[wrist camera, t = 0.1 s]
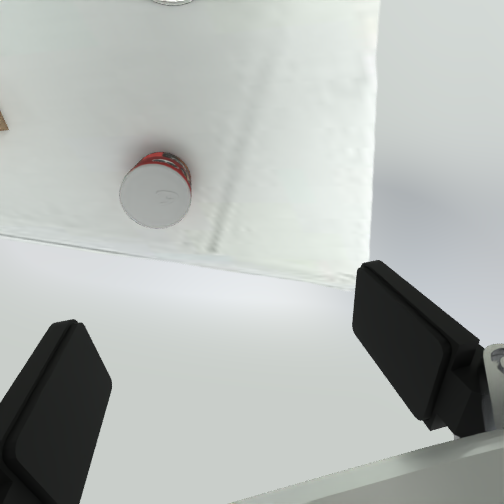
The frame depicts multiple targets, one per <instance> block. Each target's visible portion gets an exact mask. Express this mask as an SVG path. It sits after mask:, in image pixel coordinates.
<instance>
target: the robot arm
mask: <svg viewBox="0 0 504 504" xmlns="http://www.w3.org/2000/svg"><path fill="white" fill-rule="evenodd" d="M153 1H155V2H157V3H161V4H165V5H181V4H186V3H189V2H191V1H192V0H153ZM352 327H353V331H354V333H355V335H356V336H357V338H358V339H359V340H360V342H361V343H362V345H363V346H364V347H365V349H366V350H367V352H368V353H369V354H370V356H371V357H372V358H373V360H374V361H375V363H376V364H377V365H378V367H379V368H380V369H381V371H382V372H383V374H384V375H385V376H386V378H387V379H388V381H389V382H390V383H391V385H392V386H393V387H394V389H395V390H396V392H397V393H398V394H399V396H400V397H401V398H402V400H403V401H404V402H405V404H406V405H407V407H408V408H409V409H410V411H411V412H412V414H413V415H414V416H415V417H416V418H417V419H418V420H420V421H421V420H423V421H424V423H425V424H426V426H427V427H428V429H429V430H430V431H432V430H435V429H439V428H442V427H446V426H448V428H449V429H450V430H451V431H452V432H453V434H454V440H453V441H449V442H445V443H441V444H438V445H433V446H429V447H426V448H422V449H418V450H415V451H411V452H408V453H404V454H401V455H397V456H394V457H390V458H387V459H383V460H379V461H376V462H373V463H369V464H366V465H362V466H358V467H355V468H351V469H348V470H344V471H341V472H337V473H334V474H330V475H326V476H323V477H319V478H316V479H312V480H309V481H305V482H302V483H299V484H295V485H292V486H288V487H285V488H281V489H278V490H274V491H271V492H267V493H264V494H260V495H257V496H254V497H250V498H246V499H243V500H240V501H236V502H233V503H230V504H504V344H493V345H490V346H487V347H486V349H484V348H483V347H482V346H481V345H479V341H480V340H479V339H478V338H477V337H475V336H474V335H473V334H472V333H471V332H469V331H468V330H467V329H466V328H464V327H463V326H462V325H461V324H459V323H458V322H457V321H455V320H454V319H453V318H452V317H450V316H449V315H448V314H447V313H445V312H444V311H443V310H442V309H441V308H439V307H438V306H437V305H436V304H434V303H433V302H432V301H431V300H429V299H428V298H427V297H426V296H424V295H423V294H422V293H421V292H419V291H418V290H417V289H416V288H414V287H413V286H412V285H411V284H409V283H408V282H407V281H405V280H404V279H403V278H402V277H400V276H399V275H398V274H397V273H395V272H394V271H393V270H392V269H391V268H389V267H388V266H387V265H386V264H384V263H383V262H382V261H380V260H376V261H371V262H366V263H363V264H362V265H361V268H358V270H357V277H356V288H355V299H354V311H353V322H352ZM111 389H112V381H111V378H110V376H109V374H108V372H107V370H106V368H105V366H104V364H103V362H102V360H101V358H100V356H99V354H98V352H97V350H96V348H95V346H94V344H93V342H92V340H91V338H90V336H89V334H88V332H87V330H86V328H85V326H84V324H83V323H78V322H77V321H76V320H74V319H72V320H67V321H62V322H56V323H53V324H52V325H51V326H50V327H49V329H48V330H47V332H46V333H45V335H44V336H43V338H42V340H41V341H40V343H39V344H38V346H37V347H36V349H35V350H34V352H33V354H32V355H31V357H30V358H29V360H28V361H27V363H26V364H25V366H24V367H23V369H22V370H21V372H20V373H19V375H18V376H17V378H16V380H15V381H14V383H13V384H12V386H11V387H10V389H9V391H8V392H7V393H6V395H5V396H4V398H3V400H2V401H1V403H0V504H79V503H80V499H81V496H82V492H83V489H84V485H85V481H86V478H87V475H88V471H89V468H90V464H91V460H92V457H93V453H94V449H95V446H96V443H97V439H98V436H99V432H100V428H101V425H102V422H103V418H104V415H105V411H106V407H107V404H108V401H109V397H110V393H111Z"/></svg>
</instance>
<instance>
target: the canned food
mask: <svg viewBox="0 0 504 504" xmlns="http://www.w3.org/2000/svg"><path fill="white" fill-rule="evenodd" d="M119 197H120V203H121V205H122V207H123V209H124V211H125V212H126V214H127V215H128V216H129V217H130V218H131V219H132V220H134V221H135V222H136V223H138V224H140V225H142V226H145V227H149V228H155V229H159V228H167V227H170V226H173V225H175V224H176V223H178V222H180V221H181V220H182V219H183V218H184V217H185V215H186V214H187V212H188V210H189V207H190V203H191V176H190V172H189V170H188V168H187V166H186V165H185V163H184V162H183V161H182V160H180V159H179V158H178V157H176V156H174V155H172V154H169V153H164V152H157V153H152V154H150V155H147V156H146V157H144V158H143V159H142V160H141V161H140V162H139V163H138V164H137V165H136V166H135V167H134V168H133V169H132V170H131V171H130V172H129V173H128V174H127V175H126V176H125V178H124V180H123V181H122V184H121V187H120V194H119Z"/></svg>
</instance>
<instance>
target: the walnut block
mask: <svg viewBox="0 0 504 504" xmlns="http://www.w3.org/2000/svg"><path fill="white" fill-rule="evenodd" d="M4 130H9V129H8V127H7V124H6V122H5V120H4V118H3V116H2V114H1V111H0V131H4Z"/></svg>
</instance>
